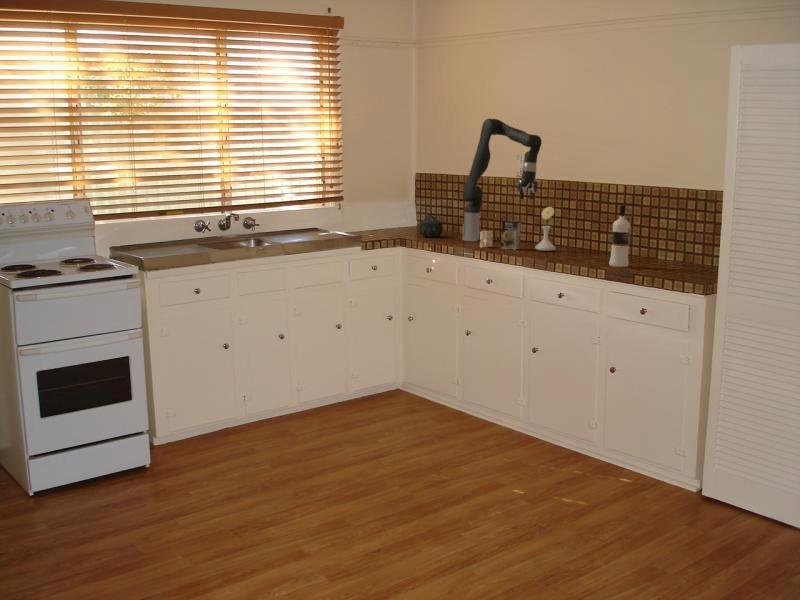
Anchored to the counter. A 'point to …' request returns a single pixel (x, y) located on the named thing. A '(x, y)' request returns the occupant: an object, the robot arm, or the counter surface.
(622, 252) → the vodka
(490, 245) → the maple block
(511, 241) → the coffee box
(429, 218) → the squash
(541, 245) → the flower in vase
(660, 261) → the counter surface
